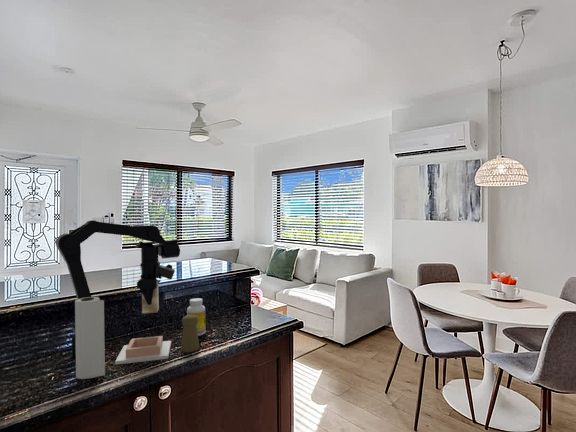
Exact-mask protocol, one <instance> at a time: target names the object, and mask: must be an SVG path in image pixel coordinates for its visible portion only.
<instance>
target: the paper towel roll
mask: <svg viewBox="0 0 576 432" xmlns="http://www.w3.org/2000/svg"><path fill="white" fill-rule="evenodd" d="M104 316H105V299H100V297H98V296H91V297H87V298H81V299H77V298H76V299H75V301H74V319H75V320H74V321H75V322H74V325H75V333H74V335H75V336H76V358H75V377H76V379H78V380H86V379H93V378H98V377H102V376H106V362H105V360H106V358H105V356H106V355H105V354H106V353H105V351H106V350H105V317H104Z"/></svg>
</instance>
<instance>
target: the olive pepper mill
mask: <svg viewBox="0 0 576 432" xmlns="http://www.w3.org/2000/svg"><path fill="white" fill-rule="evenodd" d="M197 323H198V318H197V316H196V315H187V314H186V315H184V316H183V317H182V319H181V324H182V326H183V330H182V339H181V345H180V347H181V348H180V351H182V352H183V353H192V352H196V351H198V350H200V341H199V340H200V339H199V336H198V333H197V326H196V325H197Z"/></svg>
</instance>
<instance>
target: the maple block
mask: <svg viewBox="0 0 576 432" xmlns="http://www.w3.org/2000/svg"><path fill="white" fill-rule="evenodd" d="M157 285H158V286H157V287H156V288H155V289H154V291H153V297H152V303H151V305H148V304H147V302H146V300H145V298H144V296H143V294H142V293H141V314H152V313H158V311H159V309H160V304H159V303H160V301H159V300H160V299H159V298H160V297H159V292H160V291H159V289H160V288H159V283H158V284H157Z"/></svg>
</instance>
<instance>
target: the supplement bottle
mask: <svg viewBox="0 0 576 432" xmlns="http://www.w3.org/2000/svg"><path fill="white" fill-rule="evenodd" d="M186 315H196V316H197V318H198V323H197V325H196V326H197V333H198V337H200V336H203V335H205V334H206V328H207V327H206V326H207V325H206V324H207V323H206V306H205V305H203V298H199V297H197V298H190V299H189V306H188V307H187V308H186Z"/></svg>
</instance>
